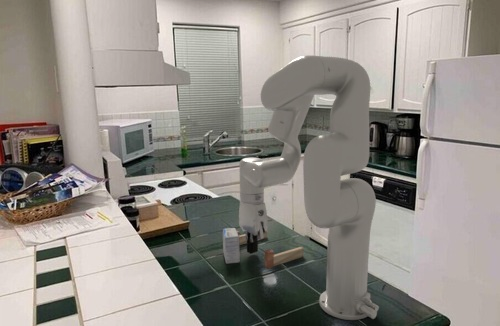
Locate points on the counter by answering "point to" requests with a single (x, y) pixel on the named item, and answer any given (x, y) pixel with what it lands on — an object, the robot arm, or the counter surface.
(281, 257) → the channel
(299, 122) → the robot arm
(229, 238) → the medicine box
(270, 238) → the counter surface
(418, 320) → the counter surface
